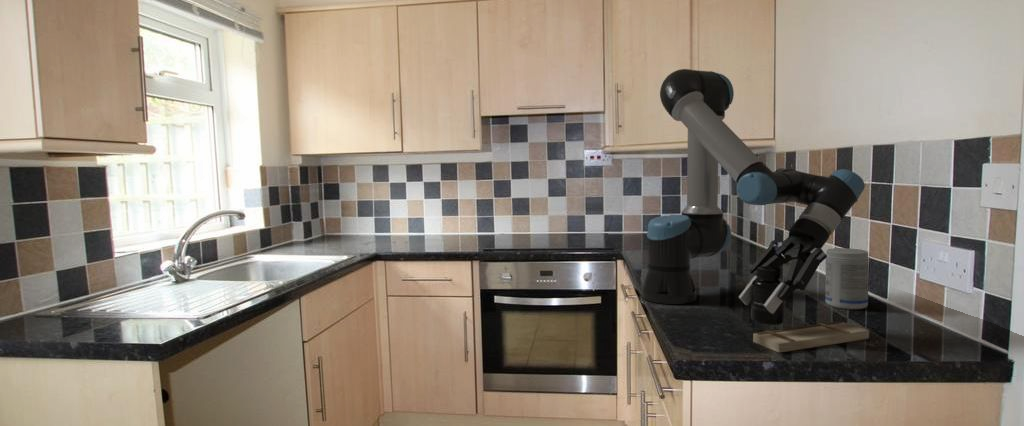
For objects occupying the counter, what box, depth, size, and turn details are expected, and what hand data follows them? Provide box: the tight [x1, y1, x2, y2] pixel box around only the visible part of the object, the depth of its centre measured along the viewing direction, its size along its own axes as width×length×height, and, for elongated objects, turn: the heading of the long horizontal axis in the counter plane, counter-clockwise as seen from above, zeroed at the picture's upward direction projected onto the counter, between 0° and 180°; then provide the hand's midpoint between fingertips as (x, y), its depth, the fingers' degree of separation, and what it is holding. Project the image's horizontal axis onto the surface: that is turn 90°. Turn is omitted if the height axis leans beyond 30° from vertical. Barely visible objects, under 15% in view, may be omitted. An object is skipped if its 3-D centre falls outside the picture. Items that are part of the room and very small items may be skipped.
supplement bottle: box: [750, 266, 786, 326], centre depth 116 cm, size 7×7×12 cm
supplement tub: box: [824, 247, 870, 310], centre depth 137 cm, size 10×10×15 cm
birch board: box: [752, 320, 870, 353], centre depth 111 cm, size 7×24×2 cm, turn 107°
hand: (755, 305), depth 115 cm, fingers closed on supplement bottle, 7 cm apart
